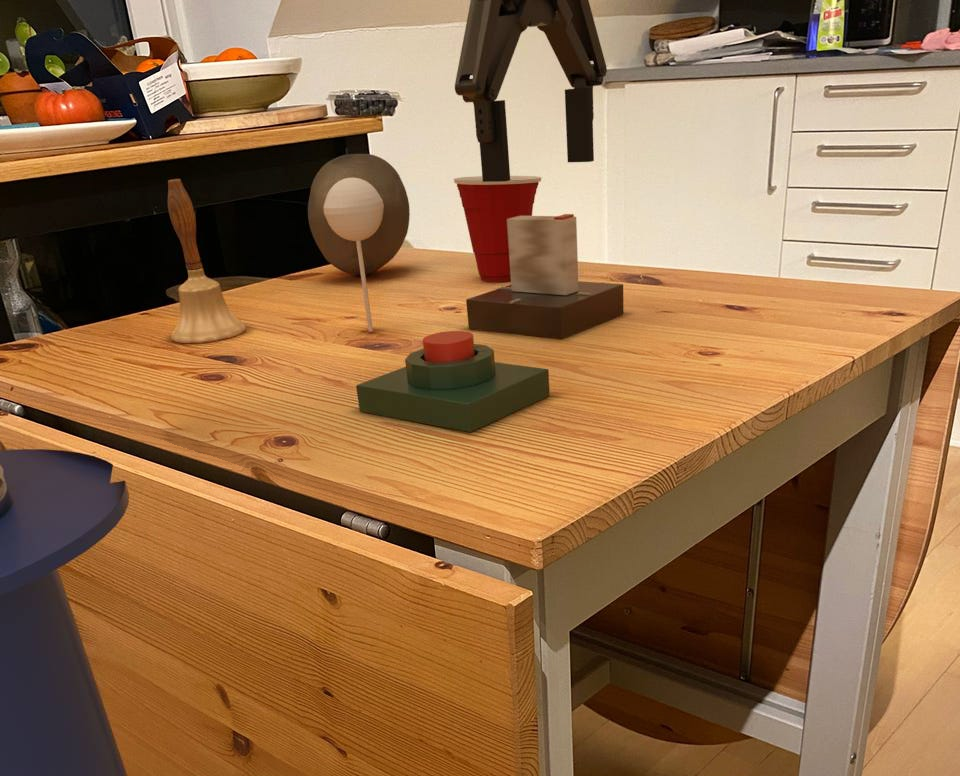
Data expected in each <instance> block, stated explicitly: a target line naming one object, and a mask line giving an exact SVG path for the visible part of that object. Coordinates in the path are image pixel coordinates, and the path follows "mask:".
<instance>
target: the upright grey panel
mask: <svg viewBox="0 0 960 776" xmlns="http://www.w3.org/2000/svg"><path fill="white" fill-rule="evenodd" d="M577 227H578V226H577V216H575V214H574V213H564V214H561V215H532V216H517V217H513V218H509V219H507V229H508V244H509V260H510V275H511V280H510V285H511V290H512V291H515V292H528V293H541V294H554V295H569V294H571V293H574V292H577V291H579V287H578V281H579V262H578V261H579V259H578V258H579V257H578V230H577V229H578V228H577Z"/></svg>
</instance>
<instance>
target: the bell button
mask: <svg viewBox="0 0 960 776" xmlns="http://www.w3.org/2000/svg"><path fill="white" fill-rule="evenodd" d="M474 344H475V342H474V334H473V333H472V332H470V331H464V330H447V331H440V332H435V333H431V334H428V335H426V336H424V337H423V338H422V347H423V348H422V349H424V358H425V361H428V362H435V363H438V362H454V361H460V360H465V359H469V358H471V357H474V356H475V352H474Z"/></svg>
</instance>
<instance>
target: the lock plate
mask: <svg viewBox="0 0 960 776" xmlns="http://www.w3.org/2000/svg"><path fill="white" fill-rule="evenodd" d="M578 287H579V291H577V292H574V293H571V294H569V295H554V294H541V293H528V292H515V291H512V290H511V284H509V285H505V286H501V287H499V288H496V289H494V290H491V291H487V292H483V293H481V294H479V295H475V296H472V297H468V298H466V299H465V303H466V314H467V326H468V329H469V330H475V331H483V332H484V331H485V332H494V333H502V334H503V333H504V334H511V335H512V334H513V335H522V336H528V337H529V336H530V337H539V338H548V339H557V340H563V339H566V338H568V337H570V336H573V335H575V334H577V333H580V332H583V331H585V330H588V329H591V328H592V327H595V326H597V325H600V324H602V323H605V322H607V321H610V320H612V319H614V318H617V317H620V316H622V315H624V313H625V312H624V311H625V310H624V284H623V283H610V282H597V281H596V282H594V281H581V280H580V281H579V280H578Z"/></svg>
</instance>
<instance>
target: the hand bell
mask: <svg viewBox="0 0 960 776" xmlns="http://www.w3.org/2000/svg"><path fill="white" fill-rule="evenodd" d="M167 184H168V186H167V187H168V188H167V189H168V190H167V210H168V214H169V219H170V221H171V225H172V227H173V230H174V231H175V233H176V235H177V237H178V239H179V241H180V244H181V247H182V248H181V249H182V253H183V256H184V257H183V258H184V261H185V268H186V270H187V275H188V278H187V280H185V281H184V283H182V284H181V285H180V286H179V287H178V296H179V297H178V298H179V315H178V316H179V317H178V321H177V324H176V326H175V328H174V329H173V331H172V333H171V336H170V338H171V341H173V342H175V343H180V344H203V343H211V342H217V341H222V340H226V339H230V338H233V337H236V336H239V335H240V334H243V333H244V332H245V331H246V329H247V328H246V325H245V324H244V322H242V321H241V320H240V319H238V318H237V317H236V316H235V315H234V313H233V312H232V311H231V310H230V308H229V306H228V303H227V302H226V300H225V297H224V295H223V291H222V289H221V285H220V283H219V282H218V281H216V280H214V279H212V278H210V277H208V276H206V275H205V271H204V268H203V263H202V262H201V257H200V256H201V255H200V253H199V249H198V245H197V221H196V220H197V219H196V214H195V213H196V212H195V209H194V205H193V203H192V200H191V197H190V196H189V194H188V192H187V191H186V189H185V187H184V185H183V182H182V180H181V178H174V179H169V180H167Z"/></svg>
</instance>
